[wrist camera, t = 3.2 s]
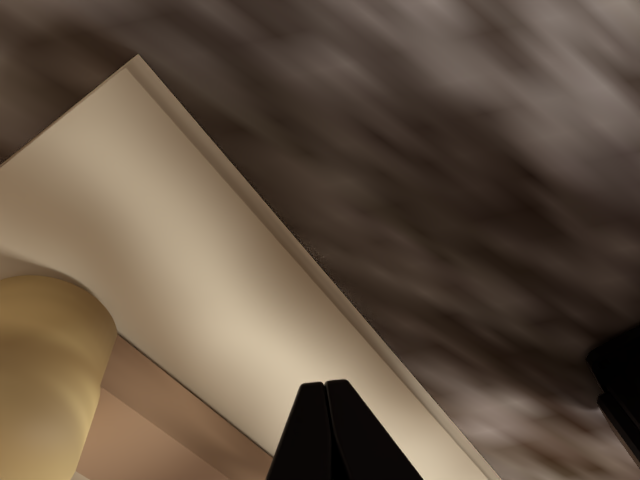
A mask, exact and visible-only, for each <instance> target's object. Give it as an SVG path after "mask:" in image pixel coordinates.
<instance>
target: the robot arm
mask: <svg viewBox="0 0 640 480" xmlns="http://www.w3.org/2000/svg"><path fill="white" fill-rule="evenodd" d="M586 363H587V365H588V367H589V369H590V370H591V372H592V374H593V376H594V378H595V379H596V381H597V383H598V385H599V386H600V388H601V390H602V392H603V393H602V394H600V395H598V398H597V402H596V403H597V404H598V406H599V408H600V410H601V411H602V413H603V415H604V417H605V418H606V420H607V422H608V423H609V425H610V427H611V429H612V430H613V432H614V433H615V435H616V436H617V438H618V439H619V441H620V442H621V443H622V445H623V446H624V448H625V449H626V450H627V452H628V453H629V455H630V456H631V457H632V459H633V460H634V462H635V463H636V464H637V466H638V467H639V469H640V326H639V327H637V328H635V329H633V330H631V331H629V332H627V333H625V334H623V335H621V336H619V337H617V338H616V339H614V340H612V341H610V342H608V343H606V344H604V345H602V346H600V347H598V348H596V349H594V350H593V351H591V352H590V353H589V354H588V355H587V358H586ZM265 480H424V479H423V478H422V477H421V475H420V474H419V473H418V471H417V470H416V469H415V467H414V466H413V465H412V464H411V462H410V461H409V460H408V458H407V457H406V456H405V454H404V453H403V452H402V450H401V449H400V448H399V446H398V445H397V444H396V443H395V441H394V440H393V439H392V437H391V436H390V435H389V433H388V432H387V431H386V429H385V428H384V427H383V425H382V424H381V423H380V422H379V420H378V419H377V418H376V416H375V415H374V414H373V412H372V411H371V410H370V408H369V407H368V406H367V404H366V403H365V402H364V401H363V399H362V398H361V397H360V395H359V394H358V393H357V391H356V390H355V389H354V387H353V386H352V385H351V384H350V382H349V381H348V380H346V379H339V380H329V381H326V382H325V384H323V383H322V382H310V383H303V384H301V385H300V387H299V389H298V392H297V394H296V397H295V400H294V403H293V405H292V408H291V411H290V413H289V416H288V419H287V422H286V424H285V427H284V430H283V432H282V435H281V438H280V441H279V443H278V446H277V449H276V451H275V454H274V457H273V460H272V462H271V465H270V468H269V470H268V473H267V476H266V479H265Z"/></svg>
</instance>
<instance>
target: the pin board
mask: <svg viewBox="0 0 640 480" xmlns="http://www.w3.org/2000/svg"><path fill="white" fill-rule="evenodd" d="M23 275H39V276H46V277H52V278H56V279H60V280H63V281H66V282H69V283H72V284H74V285H76V286H78V287H80V288H82V289H84V290H85V291H87V292H89V293H90V294H91V295H93V296H94V297H95V298H97V299H98V300H99V301H100V302H101V303H102V304H103V305H104V306H105V308H106V309H107V310H108V311H109V313H110V315H111V316H112V318H113V320H114V322H115V325H116V329H117V334H118V335H119V336H120V337H121V338H123V339H124V340H125V341H126V342H128V343H129V344H130V345H131V346H133V347H134V348H135V349H136V350H138V351H139V352H140V353H141V354H143V355H144V356H145V357H146V358H148V359H149V360H150V361H151V362H153V363H154V364H155V365H156V366H158V367H159V368H160V369H161V370H163V371H164V372H165V373H166V374H168V375H169V376H170V377H171V378H173V379H174V380H175V381H176V382H178V383H179V384H180V385H181V386H183V387H184V388H185V389H187V390H188V391H189V392H190V393H192V394H193V395H194V396H195V397H197V398H198V399H199V400H200V401H202V402H203V403H204V404H205V405H207V406H208V407H209V408H210V409H212V410H213V411H214V412H215V413H217V414H218V415H219V416H220V417H222V418H223V419H224V420H225V421H227V422H228V423H229V424H230V425H232V426H233V427H234V428H235V429H237V430H238V431H239V432H240V433H242V434H243V435H244V436H245V437H247V438H248V439H249V440H250V441H252V442H253V443H254V444H256V445H257V446H258V447H259V448H261V449H262V450H263V451H264V452H266V453H267V454H268V455H269V456H271V457H272V458H273V457H274V454H275V451H276V449H277V446H278V443H279V441H280V438H281V435H282V432H283V430H284V427H285V424H286V422H287V419H288V416H289V413H290V411H291V408H292V405H293V403H294V400H295V397H296V394H297V392H298V389H299V387H300V385H301V384H303V383H310V382H322V383H323V384H325V382H326V381H329V380H339V379H346V380H348V381H349V382H350V384H351V385H352V386H353V387H354V389H355V390H356V391H357V393H358V394H359V395H360V397H361V398H362V399H363V401H364V402H365V403H366V404H367V406H368V407H369V408H370V410H371V411H372V412H373V414H374V415H375V416H376V418H377V419H378V420H379V422H380V423H381V424H382V425H383V427H384V428H385V429H386V431H387V432H388V433H389V435H390V436H391V437H392V439H393V440H394V441H395V443H396V444H397V445H398V446H399V448H400V449H401V450H402V452H403V453H404V454H405V456H406V457H407V458H408V460H409V461H410V462H411V464H412V465H413V466H414V467H415V469H416V470H417V471H418V473H419V474H420V475H421V477H422V478H423V479H424V480H502V479H501V478H500V477H499V476H498V475H497V473H496V472H495V471H494V470H493V469H492V468H491V466H490V465H489V464H488V463H487V462H486V461H485V459H484V458H483V457H482V456H481V455H480V454H479V452H478V451H477V450H476V449H475V448H474V446H473V445H472V444H471V443H470V442H469V441H468V439H467V438H466V437H465V436H464V435H463V434H462V432H461V431H460V430H459V429H458V428H457V427H456V425H455V424H454V423H453V422H452V421H451V420H450V418H449V417H448V416H447V415H446V414H445V413H444V411H443V410H442V409H441V408H440V407H439V405H438V404H437V403H436V402H435V401H434V400H433V398H432V397H431V396H430V395H429V394H428V393H427V391H426V390H425V389H424V388H423V387H422V386H421V384H420V383H419V382H418V381H417V380H416V379H415V377H414V376H413V375H412V374H411V373H410V372H409V370H408V369H407V368H406V367H405V366H404V364H403V363H402V362H401V361H400V360H399V359H398V357H397V356H396V355H395V354H394V353H393V352H392V350H391V349H390V348H389V347H388V346H387V345H386V343H385V342H384V341H383V340H382V339H381V338H380V336H379V335H378V334H377V333H376V332H375V331H374V329H373V328H372V327H371V326H370V325H369V323H368V322H367V321H366V320H365V319H364V318H363V316H362V315H361V314H360V313H359V312H358V311H357V309H356V308H355V307H354V306H353V305H352V304H351V302H350V301H349V300H348V299H347V298H346V297H345V295H344V294H343V293H342V292H341V291H340V290H339V288H338V287H337V286H336V285H335V284H334V283H333V281H332V280H331V279H330V278H329V277H328V275H327V274H326V273H325V272H324V271H323V270H322V268H321V267H320V266H319V265H318V264H317V263H316V261H315V260H314V259H313V258H312V257H311V256H310V254H309V253H308V252H307V251H306V250H305V249H304V247H303V246H302V245H301V244H300V243H299V242H298V240H297V239H296V238H295V237H294V236H293V234H292V233H291V232H290V231H289V230H288V229H287V227H286V226H285V225H284V224H283V223H282V222H281V220H280V219H279V218H278V217H277V216H276V215H275V213H274V212H273V211H272V210H271V209H270V208H269V206H268V205H267V204H266V203H265V202H264V201H263V199H262V198H261V197H260V196H259V195H258V193H257V192H256V191H255V190H254V189H253V188H252V186H251V185H250V184H249V183H248V182H247V181H246V179H245V178H244V177H243V176H242V175H241V174H240V172H239V171H238V170H237V169H236V168H235V167H234V165H233V164H232V163H231V162H230V161H229V160H228V158H227V157H226V156H225V155H224V154H223V152H222V151H221V150H220V149H219V148H218V147H217V145H216V144H215V143H214V142H213V141H212V140H211V138H210V137H209V136H208V135H207V134H206V133H205V131H204V130H203V129H202V128H201V127H200V126H199V124H198V123H197V122H196V121H195V120H194V119H193V117H192V116H191V115H190V114H189V113H188V111H187V110H186V109H185V108H184V107H183V106H182V104H181V103H180V102H179V101H178V100H177V99H176V97H175V96H174V95H173V94H172V93H171V92H170V90H169V89H168V88H167V87H166V86H165V85H164V83H163V82H162V81H161V80H160V79H159V78H158V76H157V75H156V74H155V73H154V72H153V70H152V69H151V68H150V67H149V66H148V65H147V63H146V62H145V61H144V60H143V59H142V58H141V56H140V55H139V54H137V55H136V56H135V57H133V58H132V59H131V60H130V61H128V62H127V63H126V64H125V65H123V66H122V67H121V68H120V69H119V70H117V71H116V72H115V73H114V74H112V75H111V76H110V77H109V78H107V79H106V80H105V81H104V82H102V83H101V84H100V85H99V86H98V87H96V88H95V89H94V90H93V91H91V92H90V93H89V94H88V95H86V96H85V97H84V98H83V99H81V100H80V101H79V102H78V103H76V104H75V105H74V106H73V107H72V108H70V109H69V110H68V111H67V112H65V113H64V114H63V115H62V116H60V117H59V118H58V119H57V120H55V121H54V122H53V123H52V124H50V125H49V126H48V127H47V128H46V129H44V130H43V131H42V132H41V133H39V134H38V135H37V136H36V137H34V138H33V139H32V140H31V141H29V142H28V143H27V144H26V145H25V146H23V147H22V148H21V149H20V150H18V151H17V152H16V153H15V154H13V155H12V156H11V157H10V158H8V159H7V160H6V161H5V162H3V163H2V164H1V165H0V280H2V279H5V278H9V277H14V276H23ZM70 480H90V479H88V478H86V477H85V476H83V475H81V474H79V473H78V472H76V471H75V473H74V475H73V477H72V478H71V479H70Z"/></svg>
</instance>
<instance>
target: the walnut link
mask: <svg viewBox="0 0 640 480" xmlns="http://www.w3.org/2000/svg"><path fill="white" fill-rule="evenodd" d="M272 460H273V458H272V457H271V456H269V455H268V454H267V453H266V452H264V451H263V450H262V449H261V448H259V447H258V446H257V445H256V444H254V443H253V442H252V441H250V440H249V439H248V438H247V437H245V436H244V435H243V434H242V433H240V432H239V431H238V430H237V429H235V428H234V427H233V426H232V425H230V424H229V423H228V422H227V421H225V420H224V419H223V418H222V417H220V416H219V415H218V414H217V413H215V412H214V411H213V410H212V409H210V408H209V407H208V406H207V405H205V404H204V403H203V402H202V401H200V400H199V399H198V398H197V397H195V396H194V395H193V394H192V393H190V392H189V391H188V390H187V389H185V388H184V387H183V386H181V385H180V384H179V383H178V382H176V381H175V380H174V379H173V378H171V377H170V376H169V375H168V374H166V373H165V372H164V371H163V370H161V369H160V368H159V367H158V366H156V365H155V364H154V363H153V362H151V361H150V360H149V359H148V358H146V357H145V356H144V355H143V354H141V353H140V352H139V351H138V350H136V349H135V348H134V347H133V346H131V345H130V344H129V343H128V342H126V341H125V340H124V339H123V338H121V337H120V336H119V335H118V334H117V329H116V325H115V322H114V320H113V318H112V316H111V315H110V313H109V311H108V310H107V309H106V308H105V306H104V305H103V304H102V303H101V302H100V301H99V300H98V299H97V298H95V297H94V296H93V295H91V294H90V293H89V292H87V291H85V290H84V289H82V288H80V287H78V286H76V285H74V284H72V283H69V282H66V281H63V280H60V279H56V278H52V277H46V276H39V275H23V276H14V277H9V278H5V279H2V280H0V480H70V479H71V478H72V477H73V475H74V473H75V471H76V472H78V473H79V474H81V475H83V476H85V477H86V478H88V479H90V480H265V479H266V476H267V473H268V470H269V468H270V465H271V462H272Z"/></svg>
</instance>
